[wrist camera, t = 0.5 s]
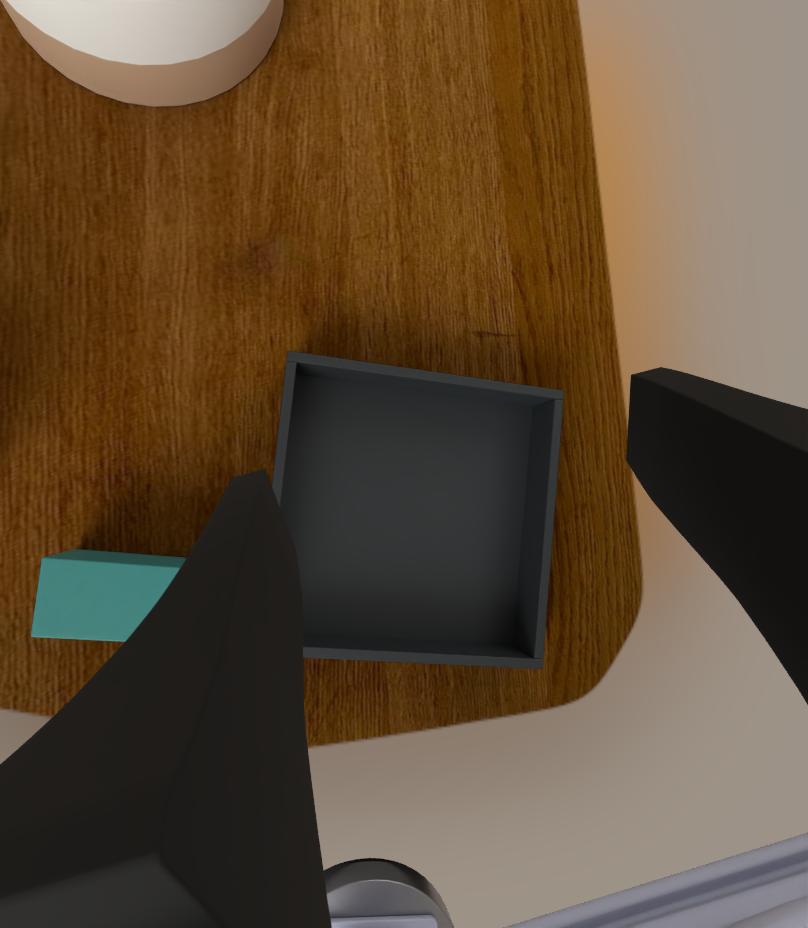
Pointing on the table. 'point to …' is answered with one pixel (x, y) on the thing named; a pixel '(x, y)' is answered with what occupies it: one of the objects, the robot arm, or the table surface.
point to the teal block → (99, 593)
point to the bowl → (150, 44)
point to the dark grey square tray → (418, 511)
